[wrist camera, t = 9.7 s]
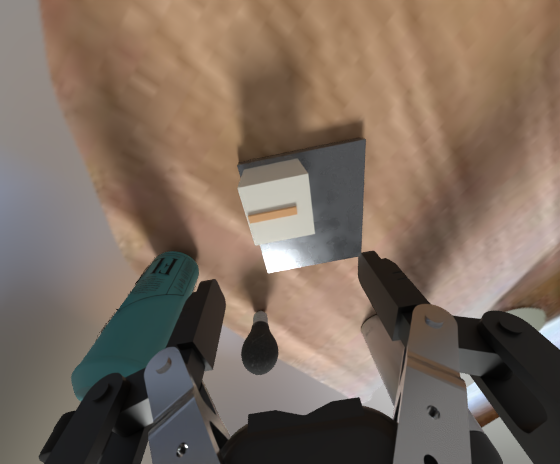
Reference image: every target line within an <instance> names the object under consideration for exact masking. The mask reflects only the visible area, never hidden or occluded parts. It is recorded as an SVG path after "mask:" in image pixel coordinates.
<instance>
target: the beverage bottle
mask: <svg viewBox="0 0 560 464" xmlns="http://www.w3.org/2000/svg"><path fill="white" fill-rule="evenodd" d="M150 263H151V262H150ZM146 269H147V270H146ZM146 269H145V270H146V272H145V271H144V272H143V274H142V275H143V276H142V275H141V277H140V279H139V280H138V281H137V282H138V283H137V282H136V283H137V284H136V283H135V284H136V286H135V287H134V288H133V290H132V291H131V292H130V294H129V295H128V297H127V298H126V300H125V301H124V302H123V304H122V305H121V306H120V308H119V309H116V310H117V312H116V313H115V314H114V316H113V317H112V319H111V320H109V321H110V322H109V323H108V324H107V326H106V327H105V328H104V329H103V332H101V335H100V336H99V338H98V339H97V341H96V342H95V344H94V345H93V346H92V348H91V349H90V351H89V352H88V353H87V355H86V356H85V357H84V359H83V360H82V362H81V363H80V364H79V365H78V366H77V367H76V368H75V370H74V371H73V373H72V376H71V379H72V386H73V389H74V393H75V395H76V397H77V399H78V400H80V401H82V400H83V398H84V396H85V395H86V393H87V392H88V391H89V389H90V388H91V387H92V386H93V385H94V384H95V383H96V382H98V381H99V380H100V379H101V378H103V377H105V376H106V375H108V374H111V373H120V374H121V375H122V376H124V377H127V376H129V375H131V374H133V373H135V372H137V371H139V370H141V369H143V368H145V367H146V366H147V365H148V363H149V361H150V360H151V359H152V358H153V357H154V356H155V355H156V354H157V353H158V352H160V351H161V350H163V349H165V348H166V346H167V343H168V341H169V339H170V336H171V334H172V332H173V329H174V327H175V325H176V322H177V320H178V318H179V315H180V313H181V311H182V308H183V306H184V304H185V301H186V300H187V299H188V297H189V296H190V295H191V294H192V292H194V291H193V289H194V286H195V283H196V281H197V278H198V275H199V268H198V265H197V263H196V262H195V261H194V260H193V259H192V258H191V257H190V256H188V255H186V254H184V253H181V252H176V251H169V252H165V253H162V254H161V255H158V257H157V256H156V258H155V259H154V261H153V262H152V263H151V265H150V266H149V265H148V268H146ZM198 279H199V278H198ZM196 284H197V283H196ZM195 287H196V286H195ZM74 413H75V411H71V412H68V413H65V414H63V416H61V418H60V420H59V421H58V422H57V424H56V426H55V427H54V430H53V432H52V434H51V435H50V437H49V439H48V441H47V442H46V444H45V446H44V447H43V449H42V451H41V452H40V455H39V459H40V461H42V462H43V463H45V461H46V460H47V458H48V456H49V455H50V453H51V451H52V450H53V448H54V446H55V445H56V443H57V441H58V440H59V438H60V436H61V435H62V433H63V431H64V430H65V428H66V426H67V425H68V423H69V421H70V420H71V418H72V416H73V415H74ZM112 433H113V431H111V433H110V436H109V438H108V440H107V442H106V445H105V447H104V449H103V451H102V453H101V456H100V458H99V460H98V462H97V464H99V463H100V461H101V458H102V456H103V454H104V452H105V449H106V447H107V445H108V442H109V440H110V438H111V436H112Z"/></svg>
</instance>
